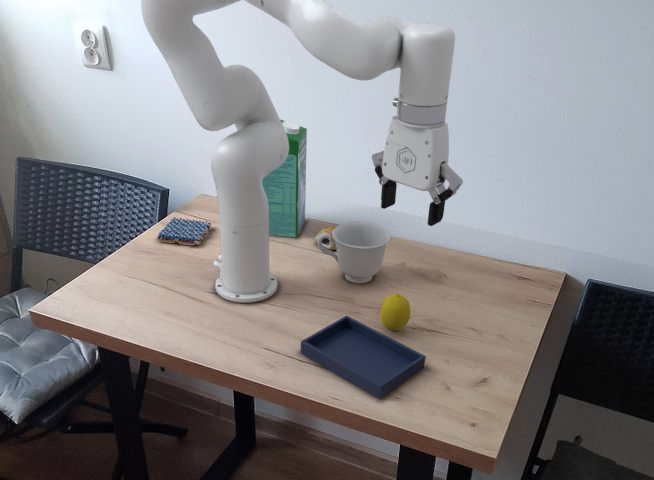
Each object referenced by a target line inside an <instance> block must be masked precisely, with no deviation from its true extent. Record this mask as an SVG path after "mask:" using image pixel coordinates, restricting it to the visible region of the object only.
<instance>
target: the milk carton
mask: <svg viewBox="0 0 654 480" xmlns="http://www.w3.org/2000/svg"><path fill="white" fill-rule="evenodd" d="M280 120H281V123H282V125H283V127H284V129H285V132H286V134H287V138H288V142H289V153H288V156H287V158H286V160H285V162H284V163H283V164H282V165H281V166H280V167H278V168H277V169H276V170H274V171H273V172H271V173H270V174H268V175H267V176H266V177H264V178H263V181H262V185H263V189H264V191H265V194H266V196H267V200H268V209H269V236H277V237H278V236H279V237H287V238H296V239H297V238H298V236H299V235H300V233H301V230H302V228H303V227H304V225H305V223H306V193H307V192H306V190H307V187H306V186H307V183H306V182H307V146H308V145H307V143H308V142H307V140H308V139H307V137H308V136H307V135H308V134H307V132H308V130H307V129H308V128H306V127H304V126H300V125H299V124H297V123H295V122H292V121H287V120H283V119H280Z"/></svg>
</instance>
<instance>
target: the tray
mask: <svg viewBox="0 0 654 480" xmlns="http://www.w3.org/2000/svg"><path fill="white" fill-rule="evenodd" d="M300 354H301V355H303V356H305V357H307V358H308V359H310V360H312V361H313V362H315V363H317V364H319V365H320V366H321V367H324V368H325V369H327V370H328V371H331V372H332V373H334V374H336V375H337V376H339V377H341V378H342V379H344V380H345V381H348V382H350V383H351V384H353V385H355V386H356V387H358V388H359V389H361V390H364V391H365V392H367V393H368V394H370V395H371V396H373V397H375V398H377V399H379V400H381V399H382V398H384V397H385V396H387V395H388V394H390V393H391V392H392V391H394V390H395V389H397V388H398V387H400V386H401V385H402V384H404V383H406V382H407V381H408V380H409V379H411V378H412V377H414V376H415V375H416V374H418V373H419V372H421V371H422V370H423V369H425V365H426V357H427V356H426V355H425V354H422V353H421V352H419V351H417V350H415V349H413V348H410V347H409V346H407V345H406V344H403V343H401V342H400V341H397V340H395V339H393V338H391V337H389V336H387V335H385V334H384V333H381V331H378V330H375V328H374V329H373V328H372V327H370V326H368V325H366V324H364V323H362V322H360V321H358V320H356V319H354V318H353V317H350V316H348V315H345V316H343V317H341V318H340V319H338V320H336V321H334V322H333V323H331V324H329V325H327V326H326V327H325V326H324V327H323V328H322V329H320V330H318V331H317V332H314V333H313V334H311V335H309V336H308V337H306V338H304V339H302V340H301V341H300Z"/></svg>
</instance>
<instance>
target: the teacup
mask: <svg viewBox="0 0 654 480" xmlns="http://www.w3.org/2000/svg"><path fill="white" fill-rule="evenodd" d="M335 227H336V228H335V229H334V230H333V232H332V236H333V238H334V239H333V240H332V236H331V234H329V233H322V234H321V235H320V236H319V237H318V242H316V244H317V243H318V244H317V247H318V249H319V251H321V253H323V254H325V255H327V256H330V257H332V258H333V259H334V260H335V261H336V262H337V265H338V268H339V269H340V271H341V272H342V273H343V274H344V277H345V279H346V280H347V281H348V282H351V283H354V284H365V283H369V282H371V281H372V279H373V276H375V275H376V274H377V273H378V272H379V271H380V269H381V267H382V264H383V261H384V256H385V252H386V248H387V244H388V243H389V242H390V241H391V240H392V234H391V232H390V231H389V230H388V229H387V228H386V227H384V226H383V225H381V224H377V223H374V222H369V221H362V220H361V221H360V220H359V221H357V220H356V221H348V222H344V223H341V224H339V225H336V226H335ZM324 238H328V239H329V240H330V243H331V244H333V243H336V250H335V251H336V253H335V252H334V251H332V250H331V249H328V248H326V247H324V246H323V245H322V243H321V242H322V239H324Z"/></svg>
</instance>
